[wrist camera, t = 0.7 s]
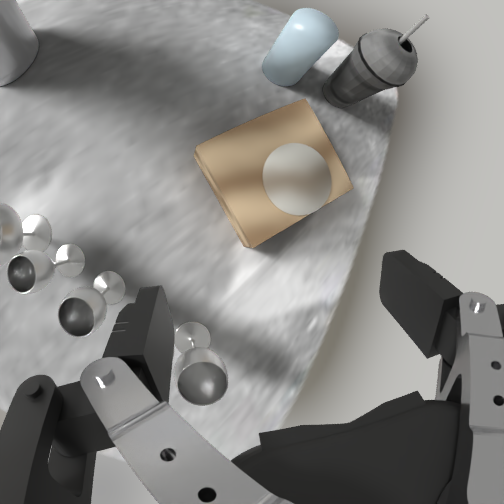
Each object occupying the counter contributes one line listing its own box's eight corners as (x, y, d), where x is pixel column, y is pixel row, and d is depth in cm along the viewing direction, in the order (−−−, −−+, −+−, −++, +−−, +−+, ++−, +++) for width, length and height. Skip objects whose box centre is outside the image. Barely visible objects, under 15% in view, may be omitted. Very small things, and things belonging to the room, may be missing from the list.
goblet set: (221, 328, 36) (248, 376, 23) (196, 367, 36) (211, 427, 23) (31, 200, 30) (-29, 186, 17) (10, 241, 29) (-54, 245, 16)
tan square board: (193, 155, 34) (196, 145, 30) (292, 110, 37) (306, 97, 32) (243, 246, 36) (253, 248, 32) (336, 192, 39) (355, 187, 34)
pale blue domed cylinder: (254, 59, 35) (282, 11, 25) (287, 49, 36) (321, 5, 26) (275, 91, 36) (309, 49, 25) (307, 80, 37) (347, 40, 26)
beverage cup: (325, 120, 38) (429, 55, 19) (306, 74, 37) (391, -9, 18) (365, 113, 40) (468, 60, 20) (347, 70, 39) (435, 3, 19)
